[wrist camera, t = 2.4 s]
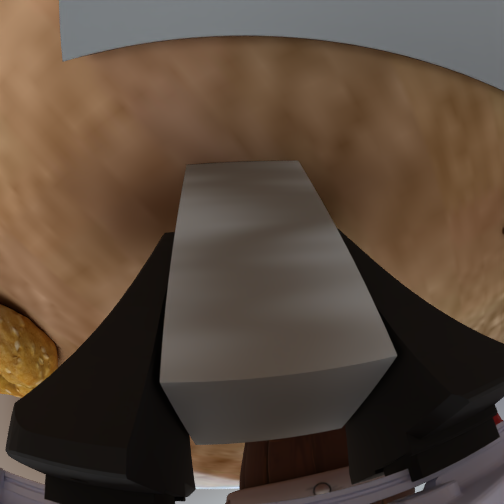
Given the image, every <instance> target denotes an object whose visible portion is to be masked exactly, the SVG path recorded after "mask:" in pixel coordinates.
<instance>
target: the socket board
mask: <svg viewBox="0 0 504 504" xmlns="http://www.w3.org/2000/svg"><path fill="white" fill-rule="evenodd" d="M59 14H60V34H61V48H62V59H63V61H67V60H70V59H74V58H78V57H82V56H86V55H91V54H95V53H99V52H103V51H108V50H112V49H117V48H122V47H128V46H133V45H139V44H145V43H152V42H159V41H167V40H176V39H186V38H199V37H217V36H272V37H290V38H303V39H313V40H322V41H330V42H337V43H344V44H350V45H356V46H362V47H367V48H372V49H377V50H382V51H386V52H391V53H395V54H399V55H403V56H407V57H411V58H414V59H418V60H421V61H425V62H428V63H431V64H435V65H438V66H441V67H444V68H447V69H450V70H453V71H456V72H458V73H461V74H464V75H466V76H469V77H472V78H474V79H477V80H479V81H482V82H484V83H486V84H489V85H491V86H493V87H496V88H498V89H500V90H502V91H504V0H59Z"/></svg>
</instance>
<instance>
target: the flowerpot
mask: <svg viewBox="0 0 504 504" xmlns="http://www.w3.org/2000/svg"><path fill="white" fill-rule="evenodd" d="M383 477H385V475H383V476H380V477H377V478H374V479H370V480H367V481H364V482H360V483H357V484H353V485H352V484H351V479H350V475H349V461H348V448H347V437H346V429H345V425H344V426H343V427H342V428H339V429H334V430H330V431H324V432H319V433H314V434H308V435H302V436H295V437H289V438H281V439H273V440H265V441H255V442H245V447H244V453H243V459H242V466H241V473H240V490H238V491H235V492H232V493H230V494H229V495H228V496H227V501H226V503H225V504H262V503H271V502H279V501H286V500H292V499H298V498H304V497H309V496H314V495H319V494H324V493H329V492H333V491H337V490H341V489H345V488H349V487H353V486H356V485H360V484H363V483H367V482H370V481H373V480H376V479H380V478H383ZM414 493H415V487H414V488H411V489H409V490H406V491H404V492H401V493H399V494H396V495H393V496H391V497H388V498H385V499H382V500H379V501H376V502H373V503H370V504H387V503H390V502H392V501H395V500H397V499H400V498H403V497H405V496H408V495H411V494H414Z"/></svg>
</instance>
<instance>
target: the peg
mask: <svg viewBox="0 0 504 504" xmlns="http://www.w3.org/2000/svg"><path fill="white" fill-rule="evenodd" d="M396 357H397V354H396V351H395V349H394V346H393V344H392V342H391V339H390V337H389V335H388V333H387V330H386V328H385V326H384V323H383V321H382V319H381V317H380V315H379V312H378V310H377V308H376V306H375V304H374V302H373V299H372V297H371V295H370V293H369V291H368V289H367V287H366V285H365V283H364V281H363V279H362V277H361V275H360V272H359V270H358V268H357V266H356V264H355V262H354V260H353V259H352V257H351V255H350V253H349V251H348V249H347V247H346V245H345V243H344V241H343V239H342V237H341V235H340V233H339V232H338V230H337V228H336V226H335V224H334V222H333V220H332V219H331V217H330V215H329V213H328V211H327V209H326V208H325V206H324V204H323V202H322V201H321V199H320V197H319V195H318V193H317V192H316V190H315V188H314V186H313V185H312V183H311V181H310V180H309V178H308V176H307V174H306V173H305V171H304V169H303V168H302V166H301V164H300V163H299V161H250V162H225V163H207V164H192V165H186V170H185V176H184V181H183V187H182V193H181V198H180V204H179V210H178V217H177V223H176V229H175V236H174V243H173V250H172V258H171V265H170V273H169V281H168V290H167V299H166V308H165V318H164V329H163V341H162V354H161V368H160V384H161V386H162V388H163V390H164V392H165V393H166V395H167V397H168V399H169V401H170V402H171V404H172V406H173V408H174V410H175V411H176V413H177V415H178V416H179V418H180V420H181V422H182V423H183V425H184V427H185V428H186V430H187V432H188V433H189V435H190V436H191V438H192V440H193V441H194V443H195V444H196V445H208V444H229V443H244V442H255V441H265V440H273V439H281V438H289V437H295V436H302V435H308V434H314V433H319V432H324V431H330V430H334V429H339V428H342V427H343V426H344V425H345V423H346V422H347V421H348V420H349V419H350V418H351V416H352V415H353V414H354V413H355V412H356V410H357V409H358V408H359V407H360V405H361V404H362V403H363V402H364V400H365V399H366V398H367V397H368V395H369V394H370V393H371V391H372V390H373V389H374V387H375V386H376V385H377V384H378V382H379V381H380V379H381V378H382V377H383V375H384V374H385V373H386V371H387V370H388V368H389V367H390V366H391V364H392V363H393V361H394V360H395V358H396Z"/></svg>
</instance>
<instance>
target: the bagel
mask: <svg viewBox="0 0 504 504" xmlns="http://www.w3.org/2000/svg"><path fill="white" fill-rule="evenodd" d="M56 369H58V355H57V350H56V346H55V344H54V342H53V341H52V340H51V339H50V338H49V337H48V336H47V335H46V334H45V333H44V332H43V331H42V330H40V329H39V328H38V327H37V326H36V325H35V324H34V323H33V322H32V321H30V320H29V318H27V317H25V316H23V315H21V314H19V313H17V312H15V311H14V310H12V309H10V308H8V307H6V306H3V305H1V304H0V394H9V395H13V396H15V397H20V398H22V397H24V396H25V395H26V394H27V393H29V392H30V391H31V390H33V389H34V388H35V387H36V386H38V385H39V384H40V383H41V382H43V381H44V380H45V379H46V378H47V377H49V376H50V375H51V374H52V373H53V372H54V371H55V370H56Z"/></svg>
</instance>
